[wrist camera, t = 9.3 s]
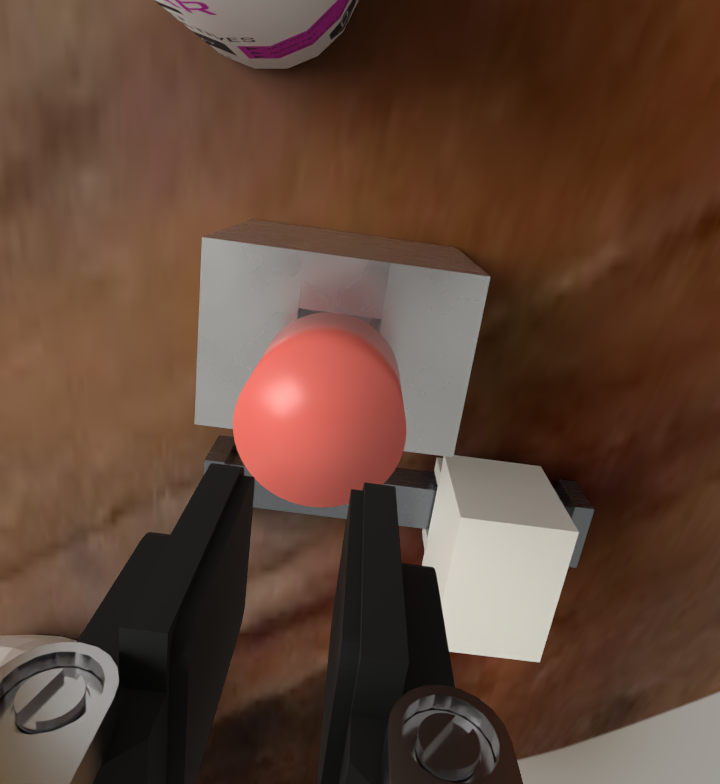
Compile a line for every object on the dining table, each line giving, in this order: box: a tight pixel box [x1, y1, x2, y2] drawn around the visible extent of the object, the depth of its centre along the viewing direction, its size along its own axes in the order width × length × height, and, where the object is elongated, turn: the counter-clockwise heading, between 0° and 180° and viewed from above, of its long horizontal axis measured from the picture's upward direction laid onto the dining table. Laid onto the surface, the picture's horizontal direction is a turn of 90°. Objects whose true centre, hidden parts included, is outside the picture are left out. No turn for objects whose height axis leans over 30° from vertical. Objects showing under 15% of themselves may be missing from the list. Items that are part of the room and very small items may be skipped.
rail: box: [204, 436, 595, 568], centre depth 32 cm, size 20×4×3 cm, turn 82°
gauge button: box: [233, 312, 407, 508], centre depth 19 cm, size 4×4×8 cm
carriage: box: [422, 455, 579, 662], centre depth 30 cm, size 5×7×8 cm
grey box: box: [195, 219, 490, 457], centre depth 26 cm, size 10×7×9 cm
